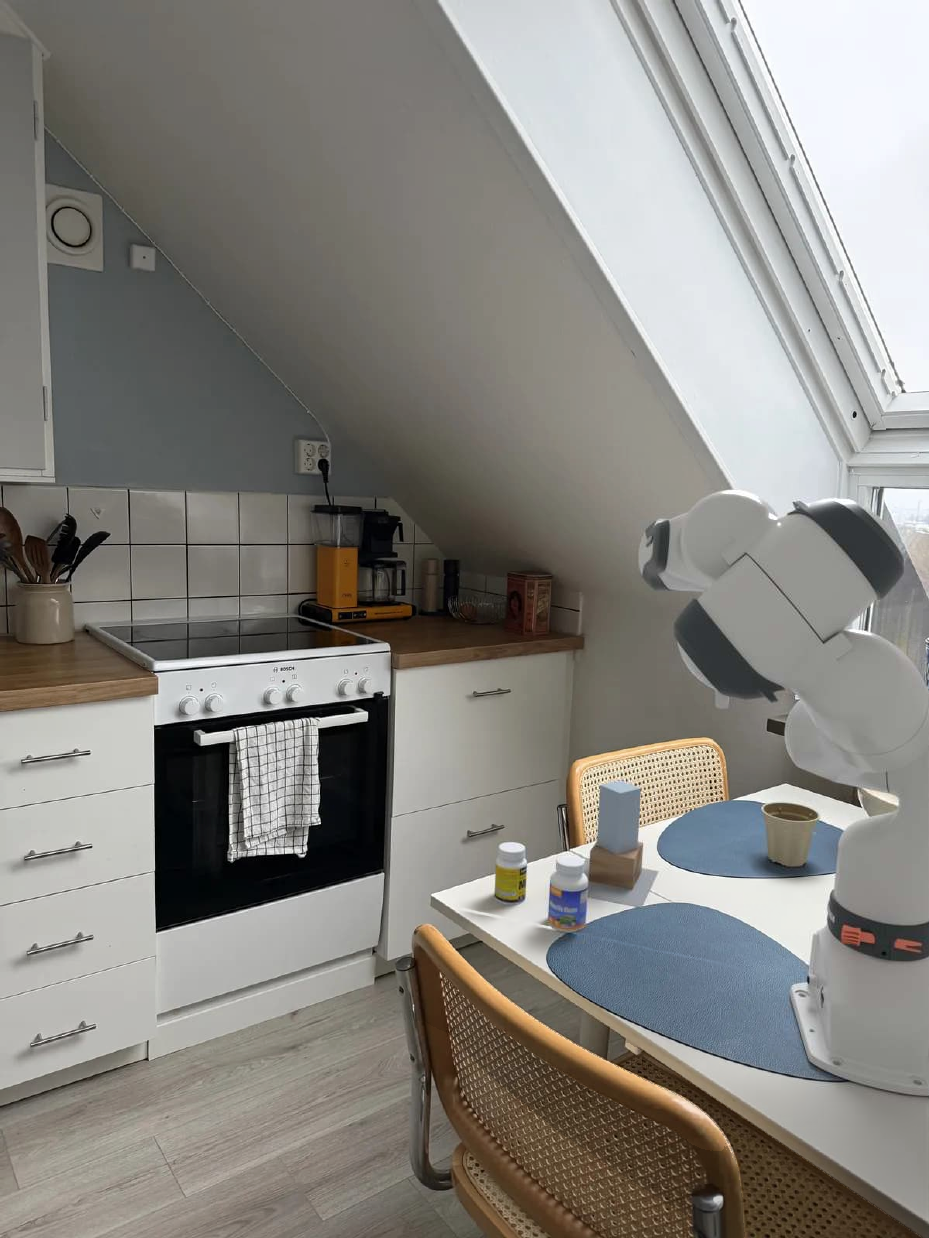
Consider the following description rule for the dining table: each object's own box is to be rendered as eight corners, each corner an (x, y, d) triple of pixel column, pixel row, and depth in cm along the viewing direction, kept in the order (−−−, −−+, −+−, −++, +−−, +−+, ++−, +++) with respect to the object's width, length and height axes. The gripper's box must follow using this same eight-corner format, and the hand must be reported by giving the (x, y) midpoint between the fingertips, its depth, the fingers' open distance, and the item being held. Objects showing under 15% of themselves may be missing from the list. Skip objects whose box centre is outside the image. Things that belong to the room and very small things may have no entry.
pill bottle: (542, 928, 131) (545, 863, 130) (555, 912, 136) (557, 849, 135) (579, 937, 129) (582, 871, 127) (590, 920, 134) (594, 857, 132)
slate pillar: (637, 848, 147) (641, 788, 145) (617, 854, 144) (620, 793, 142) (617, 838, 150) (620, 780, 149) (597, 844, 148) (600, 784, 146)
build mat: (641, 910, 138) (641, 907, 138) (563, 894, 142) (563, 892, 142) (658, 873, 150) (658, 871, 150) (586, 860, 155) (586, 858, 155)
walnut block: (632, 889, 143) (634, 858, 143) (588, 880, 146) (590, 850, 145) (641, 871, 150) (643, 842, 149) (599, 864, 152) (600, 835, 152)
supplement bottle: (523, 908, 137) (525, 854, 136) (491, 904, 138) (493, 851, 137) (527, 894, 142) (529, 842, 140) (497, 890, 143) (499, 839, 141)
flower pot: (745, 853, 160) (749, 805, 158) (787, 845, 163) (791, 798, 162) (785, 875, 151) (789, 824, 150) (828, 866, 155) (832, 817, 154)
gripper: (718, 598, 146) (712, 683, 148) (701, 616, 127) (694, 713, 130) (760, 601, 144) (753, 688, 146) (748, 620, 125) (741, 719, 127)
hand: (725, 700), depth 138 cm, fingers open, 8 cm apart
